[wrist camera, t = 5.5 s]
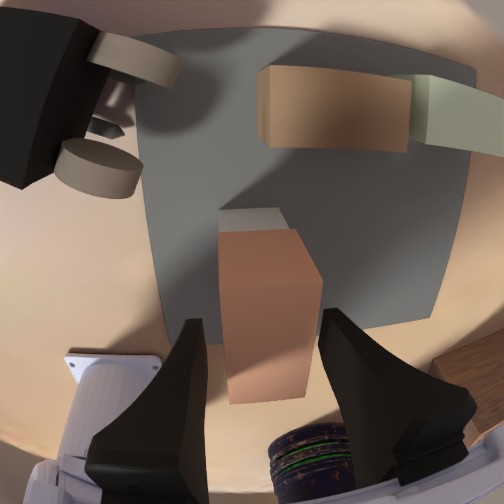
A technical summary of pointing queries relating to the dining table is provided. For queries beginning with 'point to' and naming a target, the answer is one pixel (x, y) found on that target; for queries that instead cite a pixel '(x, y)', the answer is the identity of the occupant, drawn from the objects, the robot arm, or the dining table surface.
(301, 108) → the walnut brick
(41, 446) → the dining table surface
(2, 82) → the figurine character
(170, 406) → the robot arm
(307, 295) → the terracotta brick
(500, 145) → the sage brick
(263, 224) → the pale grey brick
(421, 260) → the felt mat
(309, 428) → the storage jar
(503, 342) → the tissue box cover
